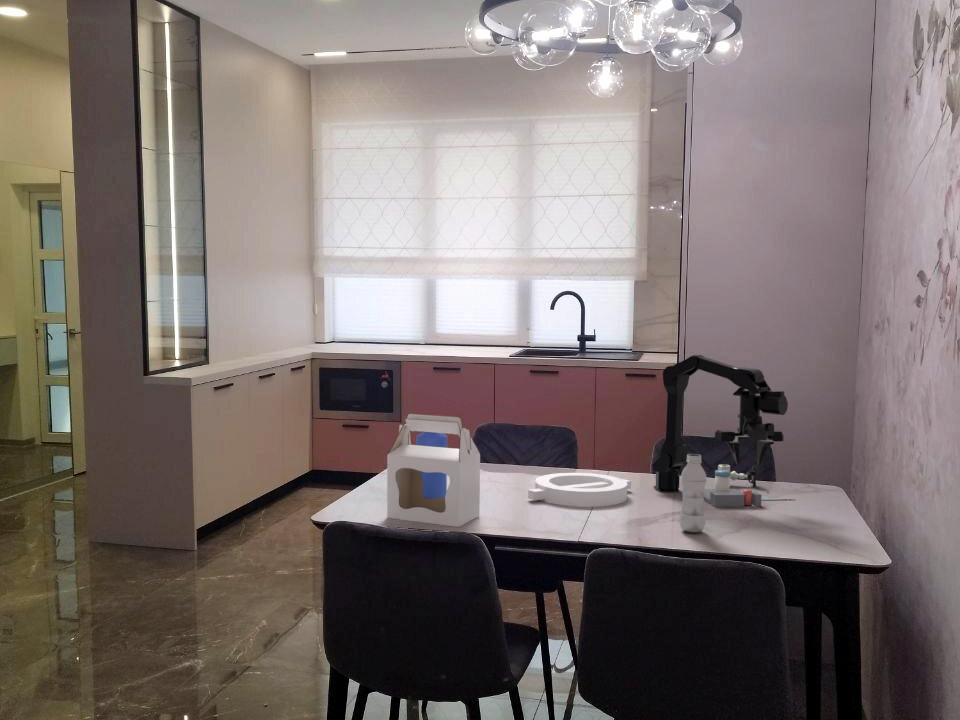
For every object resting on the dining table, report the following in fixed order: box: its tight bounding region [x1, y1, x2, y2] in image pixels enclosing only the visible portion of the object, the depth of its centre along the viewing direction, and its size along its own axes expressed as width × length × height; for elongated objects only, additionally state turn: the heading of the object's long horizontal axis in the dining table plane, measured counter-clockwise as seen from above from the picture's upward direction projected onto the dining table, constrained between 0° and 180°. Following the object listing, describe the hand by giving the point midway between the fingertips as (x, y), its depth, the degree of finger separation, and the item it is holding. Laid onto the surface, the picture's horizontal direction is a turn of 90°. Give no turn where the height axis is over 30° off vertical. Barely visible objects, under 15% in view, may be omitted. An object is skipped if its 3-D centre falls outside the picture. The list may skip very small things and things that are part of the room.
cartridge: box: [714, 469, 732, 492], centre depth 259 cm, size 5×5×8 cm
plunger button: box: [742, 489, 753, 506], centre depth 249 cm, size 3×3×4 cm
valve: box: [717, 463, 758, 487], centre depth 276 cm, size 7×7×12 cm
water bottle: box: [415, 432, 449, 499], centre depth 251 cm, size 9×9×25 cm
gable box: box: [386, 413, 481, 528], centre depth 230 cm, size 22×13×28 cm, turn 65°
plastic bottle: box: [679, 453, 707, 534], centre depth 218 cm, size 6×7×20 cm
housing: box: [703, 488, 762, 508], centre depth 256 cm, size 14×19×4 cm
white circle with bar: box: [527, 472, 632, 508], centre depth 259 cm, size 28×28×5 cm
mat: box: [761, 496, 790, 501], centre depth 260 cm, size 12×10×1 cm
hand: (748, 464), depth 248 cm, fingers open, 6 cm apart
